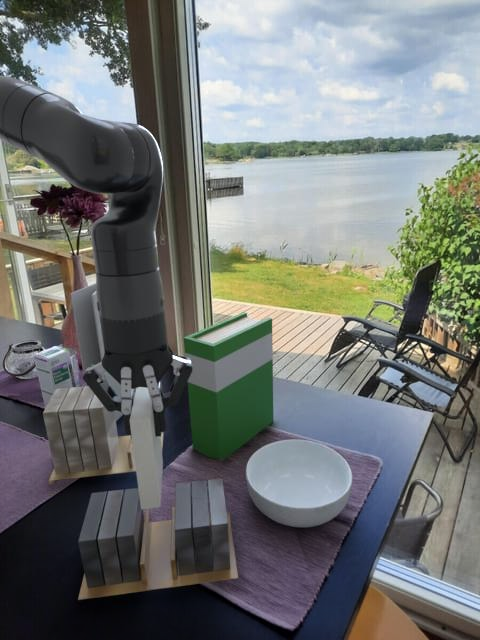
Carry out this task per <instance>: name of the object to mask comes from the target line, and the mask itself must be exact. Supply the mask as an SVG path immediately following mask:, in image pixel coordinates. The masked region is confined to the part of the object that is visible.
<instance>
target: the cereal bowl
mask: <svg viewBox="0 0 480 640" xmlns="http://www.w3.org/2000/svg"><path fill="white" fill-rule="evenodd" d="M245 480H246V488H247V491H248V494H249V497H250V499H251V501H252V502H253V504H254V505H255V506H256V508H257V510H259V511H260V512H261V513H262V514H263V515H264V516H265V517H267V518H269V519H271V520H272V521H274V522H276V523H278V524H280V525H283V526H286V527H287V526H289V527H293V528H313V527H316V526H320V525H323V524H326V523H328V522H330V521H331V520H333V519H334V518H336V517H337V516H338V515H339V514H341V513H342V511H343V509H345V508H346V505H347V504H348V501H349V499H350V497H351V493H352V487H353V473H352V469H351V467H350V465H349V463H348V462H347V461H346V459H345V457H343V456H342V455H341V454H339V452H337V451H336V450H334V449H332V448H331V447H329V446H327V445H324V444H322V443H319V442H316V441H311V440H306V439H305V440H304V439H282V440H277V441H274V442H271V443H267V444H266V445H264V446H261V447H260V448H258V449H257V450H256V451H255V452H253V454H252V455H251V456H250V458H249V459H248V461H247V463H246V467H245Z"/></svg>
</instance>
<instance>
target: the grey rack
mask: <svg viewBox="0 0 480 640" xmlns="http://www.w3.org/2000/svg"><path fill="white" fill-rule="evenodd" d="M224 489H225V488H224V482H223V478H213V479H204V480H195V481H187V482H179V483H175V489H174V491H175V492H174V505H172V506H171V519H166V520H158V521H152V517H151V516H152V515H151V508H150V509H145V511H144V509H141V505H140V498H139V490H138V487H134V488H126V489H115V490H108V491H98V492H92V493H91V494H90V498H89V502H88V506H87V509H86V512H85V516H84V519H83V523H82V526H81V530H80V534H79V537H78V541H77V543H78V547H79V553H80V558H81V562H82V567H83V573H84V574H83V577H82V582H81V585H80V589H79V594H78V598H77V600H78V601H82V600H87V599H95V598H102V597H103V598H104V597H110V596H119V595H125V594H131V593H139V592H146V591H147V592H149V591H153V590H161V589H169V588H177V587H183V586H191V585H199V584H204V583H205V584H207V583H212V582H220V581H227V580H235V579H239V573H238V566H237V557H236V552H235V544H234V536H233V530H232V522H231V516H230V515H231V514H230V512H227V504H226V498H225V490H224Z"/></svg>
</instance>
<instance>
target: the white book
mask: <svg viewBox="0 0 480 640" xmlns="http://www.w3.org/2000/svg"><path fill="white" fill-rule="evenodd" d="M153 410H154V408H153V404H152V400H151V397H150V395H149V391H148V388H145V387H138V388H136V392H135V397H134V402H133V406H132V411H131V416H130V428H131V436H132V443H133V451H134V459H135V467H136V471H135V474H136V481H137V488H138V490H139V498H140V505H141V509H143V510H146V509H150V510H151V509H157V508H158V509H159V508H161V501H162V500H161V499H162V488H163V487H162V484H163V468H164V460H163V459H164V458H163V452H162V448H161V438H160V436H158V437H156V435H155V425H154V416H153Z"/></svg>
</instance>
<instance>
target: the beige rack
mask: <svg viewBox="0 0 480 640" xmlns="http://www.w3.org/2000/svg"><path fill="white" fill-rule="evenodd" d="M42 416H43V421H44V427H45V431H46V435H47V440H48V445H49V449H50V454H51V460H52V465H53V470H52V472H51V475H50V477H49V478H48V484H49V486H52V485H54V483H55V481H58V480H69V479H78V478H88V477H96V476H97V477H98V476H105V475H106V476H107V475H114V474H125V473H136V467H135V459H134V451H133V443H132V439H131V435H121V436H119V434H118V428H117V427H118V426H117V421H116V419H115V413H114V411H113V412H109V411H107V409H106V408H105V407H104V405H103V404H102V403H101V402H100V400H99V399H98V398H97V396H96V395H95V394H94V393H93V391H92V390H91V389H90V387H89V386H76V387H72V388H70V389H69V388H60V389H56V391H55V392H54V394H53V396H52V398H51V399H50V401H49V403H48V405H47V406H46V408H45V407H44V410H43V412H42ZM164 436H165V435H164V432H161V436H160V438H161V448H162V453H164V452H163V450H164Z"/></svg>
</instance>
